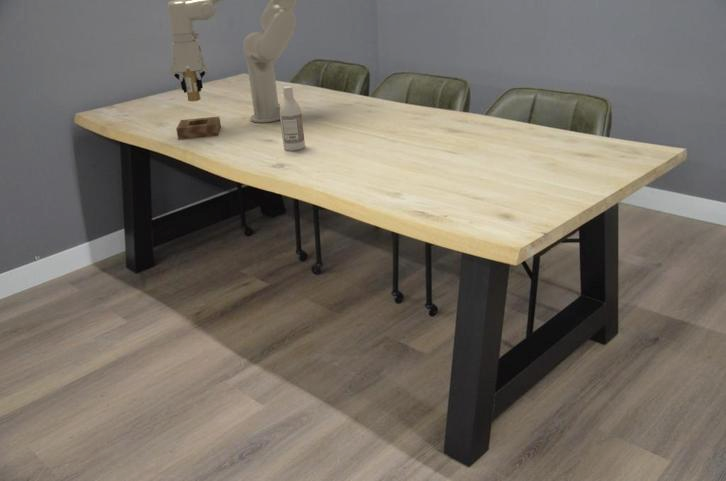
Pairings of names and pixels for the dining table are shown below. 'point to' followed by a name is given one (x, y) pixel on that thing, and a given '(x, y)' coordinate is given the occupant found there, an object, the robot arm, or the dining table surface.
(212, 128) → the socket board
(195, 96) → the sprinkles bottle
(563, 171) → the dining table surface
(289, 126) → the bath foam
